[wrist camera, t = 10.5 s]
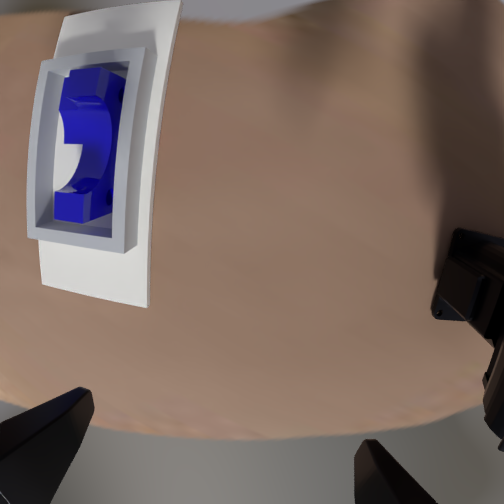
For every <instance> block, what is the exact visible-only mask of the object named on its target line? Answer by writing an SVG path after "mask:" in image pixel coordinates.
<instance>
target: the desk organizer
mask: <svg viewBox="0 0 504 504" xmlns="http://www.w3.org/2000/svg"><path fill="white" fill-rule="evenodd" d="M182 7H183V2H182V1H181V0H170V1H156V2H146V3H137V4H129V5H122V6H115V7H109V8H104V9H99V10H93V11H88V12H84V13H79V14H75V15H70V16H66V17H64V21H63V24H62V28H61V31H60V35H59V38H58V42H57V46H56V50H55V55H54V59H50V60H45V61H42V63H41V67H40V72H39V77H38V82H37V88H36V94H35V100H34V106H33V113H32V121H31V130H30V140H29V152H28V168H27V233H28V238H32V239H37V240H39V255H40V267H41V277H42V284H43V285H47V286H51V287H55V288H59V289H63V290H67V291H71V292H75V293H79V294H84V295H88V296H92V297H97V298H101V299H106V300H110V301H115V302H120V303H125V304H129V305H134V306H139V307H144V308H147V307H148V306H149V305H150V263H151V236H152V218H153V202H154V189H155V177H156V167H157V157H158V148H159V139H160V131H161V123H162V116H163V108H164V102H165V95H166V89H167V82H168V77H169V71H170V65H171V60H172V54H173V49H174V44H175V39H176V34H177V30H178V25H179V20H180V16H181V12H182ZM95 67H102V68H104V69H106V70H108V71H110V72H112V73H115V74H117V75H119V76H121V77H123V78H125V79H126V85H125V91H124V97H123V104H122V110H121V118H120V125H119V134H118V143H117V153H116V164H115V176H114V192H113V213H110V214H107V215H105V216H102V217H99V218H97V219H94V220H92V221H89V222H86V223H84V224H80V223H74V222H68V221H62V220H55V219H54V194H55V191H58V190H60V189H61V188H63V187H64V186H65V185H66V184H67V183H68V182H69V181H70V179H71V178H72V176H73V174H74V173H75V171H76V168H77V166H78V163H79V160H80V156H81V152H82V146H83V144H64V127H63V121H62V117H61V114H60V112H59V104H60V98H61V93H62V87H63V82H64V78H65V77H69V73H70V70H75V69H84V68H95Z"/></svg>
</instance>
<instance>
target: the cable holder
mask: <svg viewBox="0 0 504 504" xmlns="http://www.w3.org/2000/svg"><path fill="white" fill-rule="evenodd" d="M125 85H126V79H125V78H123V77H121V76H119V75H117V74H115V73H112V72H110V71H108V70H106V69H104V68H102V67H95V68H84V69H75V70H70V73H69V77H65V78H64V82H63V87H62V93H61V98H60V104H59V112H60V114H61V117H62V121H63V127H64V144H83V146H82V152H81V156H80V160H79V163H78V166H77V168H76V171H75V173H74V174H73V176H72V178H71V179H70V181H69V182H68V183H67V184H66V185H65V186H64V187H63V188H61V189H60V190H58V191H55V194H54V219H55V220H62V221H68V222H74V223H80V224H84V223H86V222H89V221H92V220H94V219H97V218H99V217H102V216H105V215H107V214H110V213H113V192H114V176H115V164H116V153H117V143H118V134H119V125H120V118H121V110H122V104H123V97H124V91H125Z"/></svg>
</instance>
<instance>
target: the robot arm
mask: <svg viewBox="0 0 504 504" xmlns="http://www.w3.org/2000/svg"><path fill="white" fill-rule="evenodd" d="M460 233H462V236H461V238H460V239H459V235H460ZM439 310H440V312H439V313H438V314H437V312H438V311H439ZM432 315H433V317H434V318H435V319H438V320H453V321H467V322H468V323H469V324H470V325H471V326H472V327H473V328H474V329H475V330H476V331H477V332H478V333H479V334H480V335H481V336H482V337H483V338H484V339H485V340H486V341H487V342H488V343H489V344H490V345H491V346H492V347H493V348H494V352H493V355H492V358H491V361H490V364H489V367H488V370H487V372H485V374H484V377H483V379H482V381H483V385H484V389H485V392H484V397H483V404H484V410H485V413H486V415H485V417H484V420H485V422H486V423H487V425H488V426H489V428H490V429H491V430H492V431H493V432H494V433H495V434H496V435H497V436H498V437H499V438H500V439H502V441H501V442H500V444H499V446H498V449H499V450H500V451H503V452H504V238H500V237H496V236H492V235H488V234H484V233H480V232H476V231H472V230H468V229H464V228H457V229H456V230H455V231H454V233H453V238H452V242H451V246H450V250H449V254H448V258H447V259H446V263H445V267H444V270H443V274H442V277H441V281H440V284H439V287H438V291H437V296H436V299H435V302H434V305H433V308H432ZM93 413H94V402H93V397H92V392H91V391H90V390H89V389H86V388H83V387H77V388H75V389H73V390H71V391H69V392H67V393H65V394H62V395H60V396H58V397H56V398H54V399H52V400H50V401H47V402H45V403H43V404H41V405H39V406H37V407H34V408H32V409H30V410H28V411H25V412H24V413H21V414H19V415H17V416H14V417H12V418H10V419H7V420H5V421H3V422H1V423H0V504H50V503H51V501H52V499H53V497H54V495H55V493H56V491H57V489H58V487H59V485H60V483H61V481H62V480H63V477H64V476H65V474H66V472H67V470H68V468H69V466H70V464H71V463H72V461H73V459H74V457H75V455H76V453H77V452H78V449H79V448H80V445H81V443H82V441H83V438H84V436H85V433H86V431H87V428H88V426H89V423H90V421H91V418H92V416H93ZM354 496H355V504H438V503H436V501H435V500H434V499H433V498H432V497H431V496H430V495H429V494H428V493H427V492H426V491H425V490H424V489H423V488H422V487H421V486H420V485H419V484H418V483H417V481H416V480H415V479H414V478H413V477H412V476H411V475H410V474H409V473H408V472H407V471H406V470H405V469H404V468H403V467H402V466H401V465H400V464H399V463H398V462H397V461H396V460H395V459H394V457H393V456H392V455H391V454H390V453H389V452H388V451H387V450H386V449H385V448H384V447H383V446H382V445H381V444H380V443H379V442H378V441H377V440H376V439H365V440H364V441H363V442H362V444H361V445H360V447H359V449H358V450H357V452H356V454H355V457H354Z"/></svg>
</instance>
